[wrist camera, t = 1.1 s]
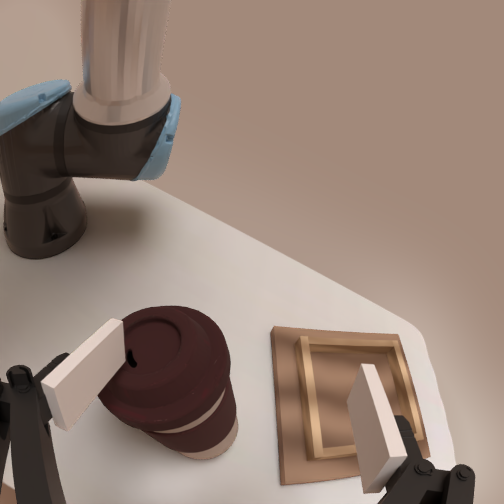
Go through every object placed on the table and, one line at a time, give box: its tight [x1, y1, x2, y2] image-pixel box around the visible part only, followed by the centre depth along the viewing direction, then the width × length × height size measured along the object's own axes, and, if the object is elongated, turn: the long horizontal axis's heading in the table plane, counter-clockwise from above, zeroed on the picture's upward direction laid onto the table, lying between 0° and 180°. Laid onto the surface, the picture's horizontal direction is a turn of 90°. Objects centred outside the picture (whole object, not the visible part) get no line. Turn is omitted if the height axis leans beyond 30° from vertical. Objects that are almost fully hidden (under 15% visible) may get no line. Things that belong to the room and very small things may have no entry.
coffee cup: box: [98, 306, 238, 459], centre depth 23 cm, size 10×10×15 cm
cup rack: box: [271, 326, 431, 485], centre depth 33 cm, size 20×20×4 cm
